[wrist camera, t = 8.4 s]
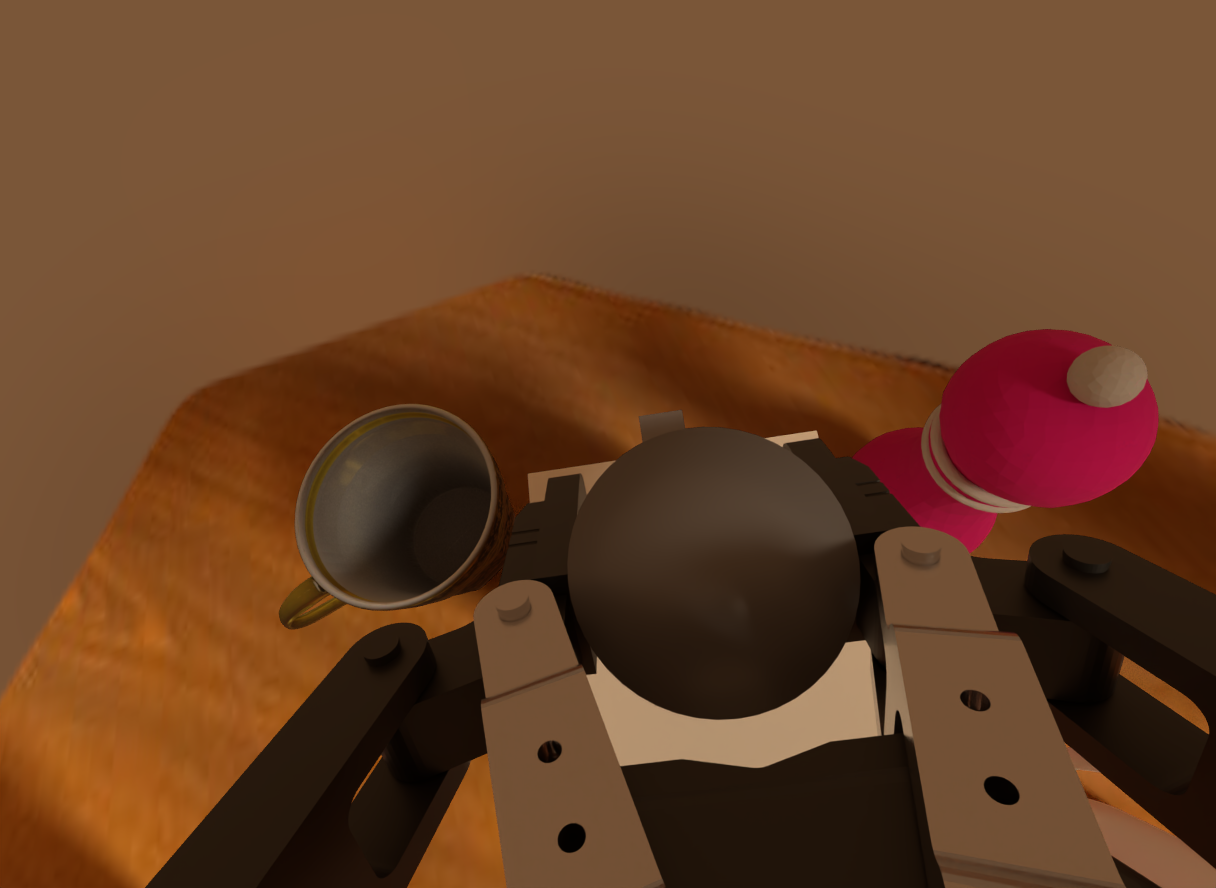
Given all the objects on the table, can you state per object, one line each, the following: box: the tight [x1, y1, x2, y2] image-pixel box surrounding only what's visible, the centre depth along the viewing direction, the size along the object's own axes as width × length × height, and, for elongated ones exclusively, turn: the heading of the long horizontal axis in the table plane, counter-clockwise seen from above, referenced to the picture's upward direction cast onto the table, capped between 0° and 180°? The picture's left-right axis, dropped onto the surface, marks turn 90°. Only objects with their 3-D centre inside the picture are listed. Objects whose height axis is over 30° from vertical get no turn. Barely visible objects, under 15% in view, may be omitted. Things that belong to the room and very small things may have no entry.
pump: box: [567, 427, 861, 720], centre depth 19 cm, size 4×4×21 cm
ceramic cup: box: [279, 404, 515, 629], centre depth 32 cm, size 13×10×10 cm
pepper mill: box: [852, 329, 1159, 554], centre depth 26 cm, size 7×7×20 cm
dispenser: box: [528, 410, 878, 768], centre depth 26 cm, size 12×13×18 cm
